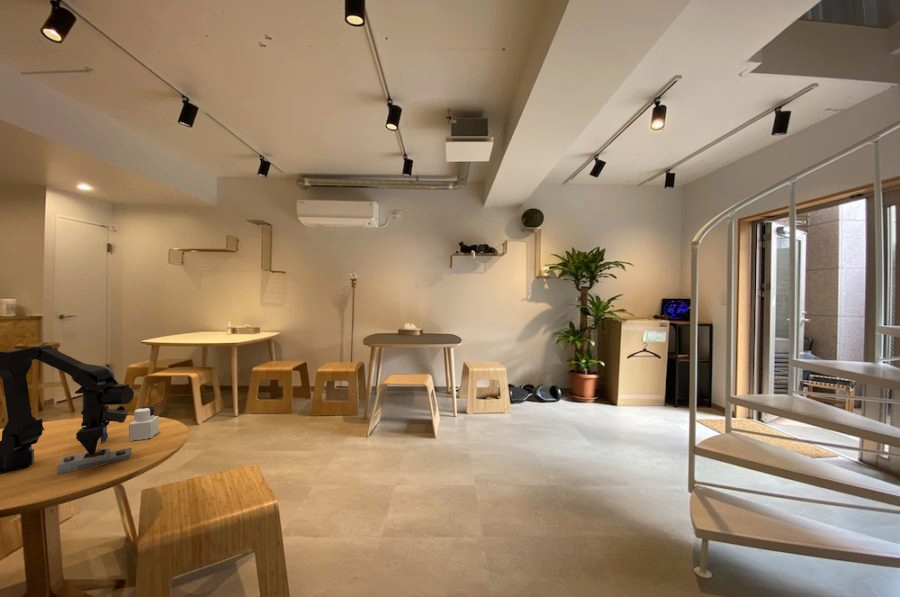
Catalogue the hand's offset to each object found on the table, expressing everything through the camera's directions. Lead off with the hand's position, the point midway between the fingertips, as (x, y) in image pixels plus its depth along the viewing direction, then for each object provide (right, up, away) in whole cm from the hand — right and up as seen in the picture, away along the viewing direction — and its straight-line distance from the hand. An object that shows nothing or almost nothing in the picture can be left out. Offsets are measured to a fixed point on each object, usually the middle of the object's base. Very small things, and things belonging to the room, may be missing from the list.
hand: (94, 449), depth 118 cm
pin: (0, -5, 0) cm, 4 cm away
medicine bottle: (-2, -5, +22) cm, 22 cm away
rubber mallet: (-15, -5, +16) cm, 23 cm away
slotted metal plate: (0, -5, 0) cm, 4 cm away
